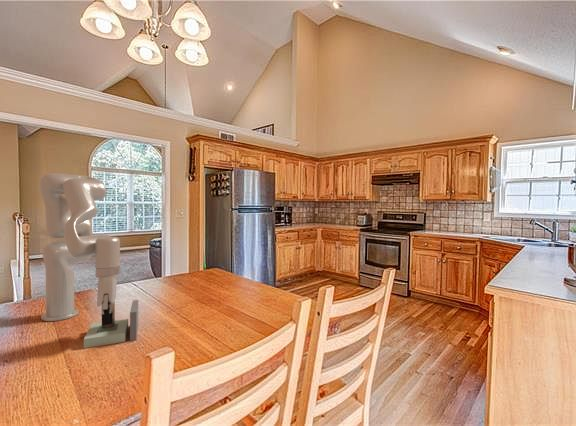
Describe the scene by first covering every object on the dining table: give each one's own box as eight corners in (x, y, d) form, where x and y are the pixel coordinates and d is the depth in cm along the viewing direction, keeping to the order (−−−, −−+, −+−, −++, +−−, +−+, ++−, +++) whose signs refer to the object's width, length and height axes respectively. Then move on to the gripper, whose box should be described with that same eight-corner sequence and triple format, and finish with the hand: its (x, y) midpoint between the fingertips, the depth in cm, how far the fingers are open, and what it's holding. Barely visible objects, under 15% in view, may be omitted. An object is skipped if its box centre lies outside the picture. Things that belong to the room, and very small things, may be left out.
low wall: (132, 325, 116) (132, 300, 116) (138, 324, 117) (138, 299, 116) (130, 340, 103) (130, 312, 103) (136, 339, 104) (136, 311, 104)
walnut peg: (102, 325, 107) (102, 297, 107) (115, 323, 109) (115, 296, 109) (100, 329, 104) (100, 301, 103) (114, 327, 105) (113, 299, 105)
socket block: (91, 331, 110) (91, 323, 110) (128, 326, 115) (128, 318, 115) (83, 348, 98) (83, 339, 98) (125, 341, 103) (125, 333, 102)
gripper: (99, 267, 112) (99, 315, 112) (91, 277, 97) (91, 333, 97) (122, 266, 115) (122, 312, 115) (117, 275, 100) (117, 329, 100)
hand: (108, 321), depth 106 cm, fingers closed on walnut peg, 4 cm apart
